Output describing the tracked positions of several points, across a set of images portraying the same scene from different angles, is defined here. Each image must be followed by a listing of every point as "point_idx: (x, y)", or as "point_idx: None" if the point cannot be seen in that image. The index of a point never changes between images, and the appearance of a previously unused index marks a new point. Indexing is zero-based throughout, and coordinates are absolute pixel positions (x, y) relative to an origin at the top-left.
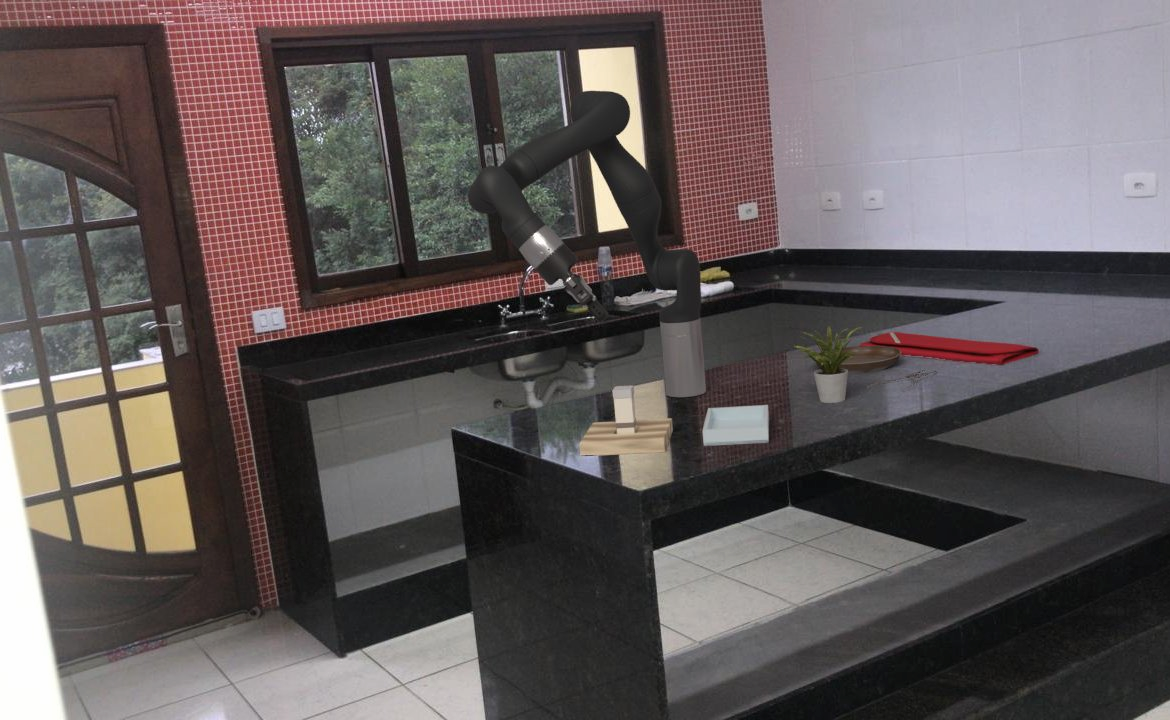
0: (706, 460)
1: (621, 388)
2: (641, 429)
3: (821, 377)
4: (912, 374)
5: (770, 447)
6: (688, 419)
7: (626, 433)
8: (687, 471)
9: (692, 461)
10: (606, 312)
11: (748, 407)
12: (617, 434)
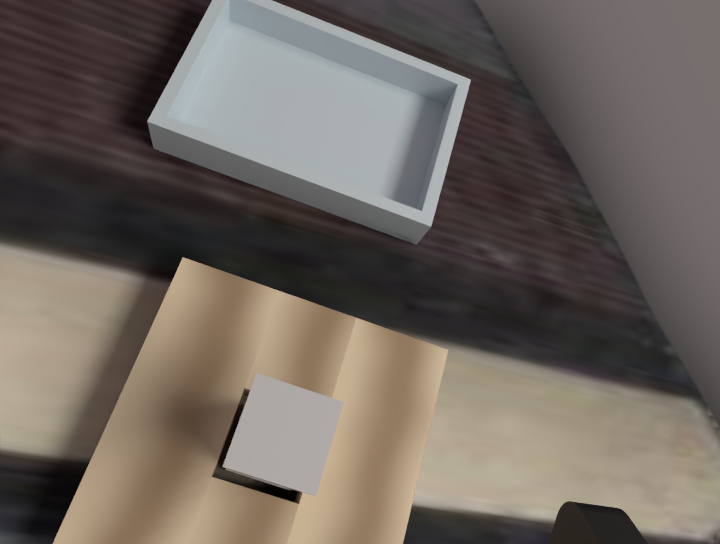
0: (551, 279)
1: (294, 442)
2: None
3: None
4: None
5: (494, 117)
6: (61, 187)
7: None
8: (630, 348)
9: (549, 313)
10: (636, 530)
11: (212, 28)
12: None
